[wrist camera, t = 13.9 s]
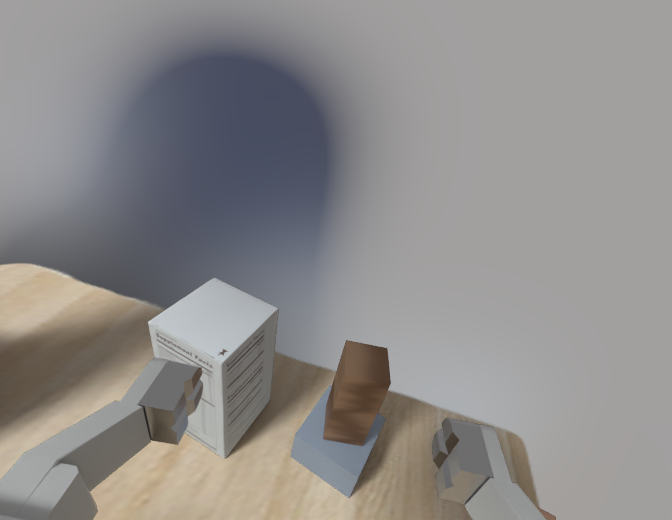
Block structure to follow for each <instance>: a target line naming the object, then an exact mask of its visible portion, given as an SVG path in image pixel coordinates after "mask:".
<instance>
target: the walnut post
mask: <svg viewBox="0 0 672 520" xmlns="http://www.w3.org/2000/svg"><path fill="white" fill-rule="evenodd" d="M390 384H391V382H390V372H389V361H388V351H387V348H383V347H378V346H373V345H367V344H362V343H357V342H352V341H347V340H346V343H345V346H344V349H343V353H342V355H341V359H340V362H339V365H338V368H337V371H336V375H335V378H334V381H333V384H332V388H331V391H330V394H329V397H328V400H327V404H326V414H325V424H324V435H323V439H324V440H330V441H335V442H341V443H346V444H352V445H358V446H363V444H364V442H365V439H366V437H367V435H368V433H369V430H370V428H371V426H372V424H373V422H374V419H375V417H376V415H377V413H378V410H379V408H380V406H381V404H382V402H383V399H384V397H385V395H386V393H387V390H388V388H389V386H390Z"/></svg>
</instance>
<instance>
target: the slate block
mask: <svg viewBox="0 0 672 520" xmlns="http://www.w3.org/2000/svg"><path fill="white" fill-rule="evenodd" d="M331 388H332V386H331V385H330V386H329V387H328V389H327V390H326V391H325V393H324V394H323V396H322V397H321V399H320V400H319V401H318V403H317V404H316V406H315V407H314V409H313V410H312V411H311V413H310V414H309V416H308V417H307V419H306V420H305V421H304V423H303V424H302V426H301V427H300V429H299V430H298V431H297V433H296V434H295V437H294V442H293V447H292V452H291V457H292V458H293V459H295V460H296V461H297V462H299V463H300V464H302V465H303V466H304V467H306V468H307V469H309V470H310V471H311V472H313V473H314V474H316V475H317V476H318V477H320V478H321V479H323V480H324V481H325V482H327V483H328V484H330V485H331V486H333V487H334V488H335V489H337V490H338V491H340V492H341V493H342V494H344V495H345V496H347V497H348V498H349V497H350V495H351V493H352V491H353V489H354V487H355V484H356V482H357V480H358V478H359V476H360V474H361V471H362V469H363V467H364V465H365V463H366V461H367V458H368V456H369V454H370V452H371V450H372V448H373V446H374V443H375V441H376V439H377V437H378V435H379V432H380V430H381V428H382V426H383V424H384V422H385V419H386V418H384V417H382V416H381V415H379V414H378V413H377V415H376V417H375V419H374V422H373V424H372V426H371V428H370V430H369V433H368V435H367V437H366V439H365V442H364V444H363V446H358V445H352V444H346V443H341V442H335V441H330V440H324V439H323V435H324V424H325V414H326V404H327V400H328V397H329V394H330V391H331Z"/></svg>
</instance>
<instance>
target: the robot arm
mask: <svg viewBox="0 0 672 520" xmlns="http://www.w3.org/2000/svg"><path fill="white" fill-rule="evenodd" d="M201 375H202V367H197V366H193V365H188V364H184V363H179V362H175V361H171V360H166V359H161V358H156V357H154V358H153V359H152V360H151V361H149V363H148V364H147V365H146V367H145V368H144V370H143V371H142V372H141V374H140V375H139V376H138V378H137V379H136V380H135V382H134V383H133V385H132V386H131V387H130V389H129V390H128V391H127V393H126V394H125V395H124V397H123V398H122V400H121V401H114V402H112V403H110V404H109V405H107V406H105V407H103V408H102V409H100V410H98V411H97V412H95V413H93V414H91V415H90V416H88V417H86V418H84V419H83V420H81V421H79V422H77V423H76V424H74V425H72V426H71V427H69V428H67V429H65V430H64V431H62V432H60V433H58V434H57V435H55V436H53V437H51V438H50V439H48V440H46V441H44V442H43V443H41V444H39V445H38V446H36V447H34V448H32V449H31V450H29V451H27V452H25V453H24V454H23V455H22V456H21V457H20V458H19V459H18V461H17V462H16V463H15V464H14V465H13V466H12V467H11V468H10V470H9V471H8V472H7V473H6V474H5V475H4V476H3V478H2V479H1V480H0V520H93V518H94V517H95V515H96V513H97V512H98V510H97V505H96V503H95V501H94V499H93V497H92V495H91V493H90V491H91V490H92V489H93V488H95V487H96V486H97V485H98V484H100V483H101V482H102V481H103V480H105V479H106V478H107V477H108V476H109V475H111V474H112V473H113V472H114V471H116V470H117V469H118V468H119V467H121V466H122V465H123V464H124V463H125V462H127V461H128V460H129V459H130V458H132V457H133V456H134V455H135V454H137V453H138V452H139V451H140V450H142V449H143V448H144V447H145V446H146V445H148V444H149V443H150V442H151V440H152V441H158V442H164V443H170V444H175V445H178V444H179V442H180V440H181V438H182V436H183V434H184V432H185V430H186V428H187V426H188V416H189V415H191V414H192V413H194V412H195V410H196V408H197V406H198V404H199V402H200V399H201V396H202V391H203V382H202V381H201V380H200V377H201ZM442 428H443V429H441V430H438V431H437V432H436V434H435V436H434V439H433V444H432V454H433V461H434V462H435V464H436V465H437V467H438V468H439V470H438V472H437V473H436V475H435V477H436V484H437V491H438V498H439V499H443V500H448V501H452V502H456V503H460V504H465V508H466V509H467V511H468V513H469V515H470V516H471V518H472V520H546V519H545V517H544V516H543V515H542V514H541V512H540V511H539V510H538V509H537V507H536V506H535V505H534V504H533V503H532V501H531V500H530V499H529V498H528V496H527V495H526V494H525V493H524V492H523V490H522V489H521V488H520V487H519V485H518V484H517V483H514V482H512V480H511V477H510V474H509V471H508V468H507V464H506V461H505V458H504V455H503V452H502V449H501V445H500V442H499V439H498V436H497V433H496V431H495V429H494V428H493V427H490V426H485V425H480V424H476V423H472V422H467V421H461V420H456V419H451V418H446V419H444V421H443V422H442Z"/></svg>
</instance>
